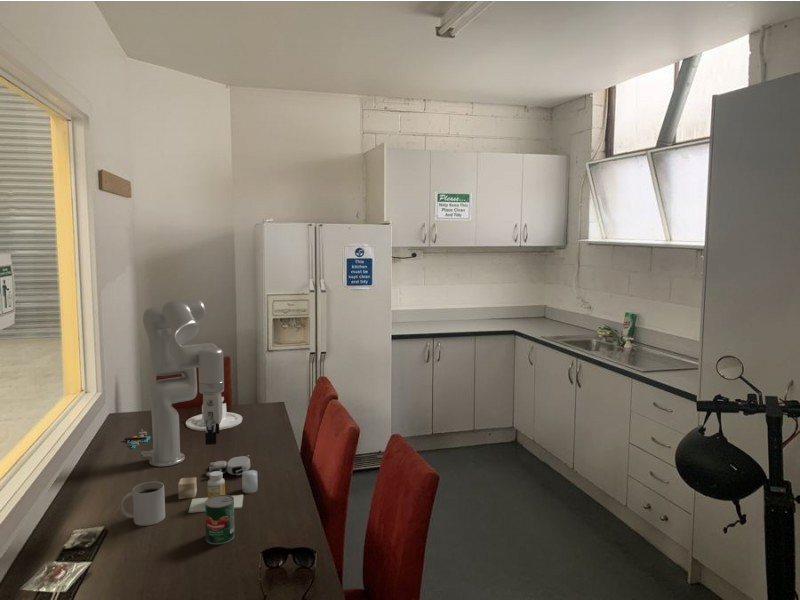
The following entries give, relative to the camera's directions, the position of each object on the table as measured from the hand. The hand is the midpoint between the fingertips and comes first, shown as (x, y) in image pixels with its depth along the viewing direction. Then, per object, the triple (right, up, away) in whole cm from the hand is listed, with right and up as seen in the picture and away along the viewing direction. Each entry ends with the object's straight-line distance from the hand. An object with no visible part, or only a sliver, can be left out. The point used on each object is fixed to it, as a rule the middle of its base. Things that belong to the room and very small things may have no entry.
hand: (212, 438), depth 189 cm
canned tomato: (+9, -23, -21) cm, 33 cm away
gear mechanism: (-50, -15, +58) cm, 78 cm away
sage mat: (+1, -21, 0) cm, 21 cm away
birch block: (-10, -20, +6) cm, 24 cm away
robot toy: (-2, -19, +25) cm, 31 cm away
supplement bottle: (+1, -21, 0) cm, 21 cm away
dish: (-26, -12, +84) cm, 88 cm away
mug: (-17, -22, -10) cm, 30 cm away
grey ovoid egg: (+9, -20, +11) cm, 24 cm away
